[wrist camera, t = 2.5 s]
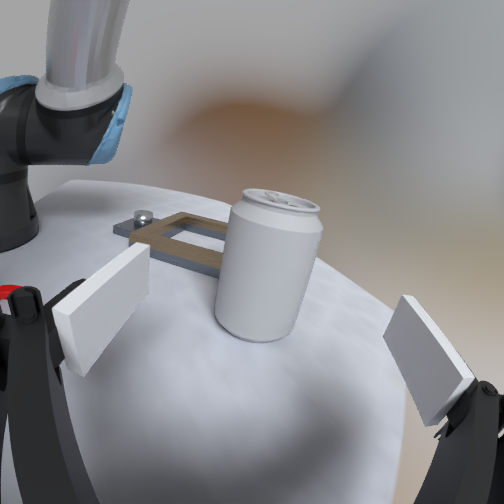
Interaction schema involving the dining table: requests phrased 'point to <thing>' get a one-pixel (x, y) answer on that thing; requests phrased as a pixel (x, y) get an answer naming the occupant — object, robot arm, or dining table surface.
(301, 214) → the can
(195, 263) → the chain end lower
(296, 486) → the dining table surface
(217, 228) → the chain end upper
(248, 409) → the dining table surface
